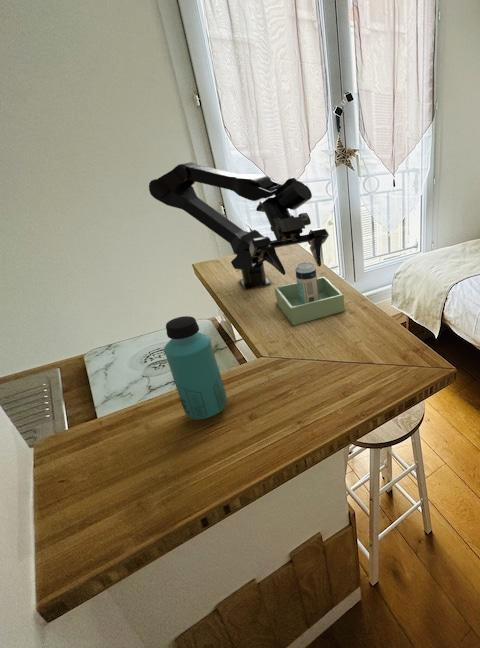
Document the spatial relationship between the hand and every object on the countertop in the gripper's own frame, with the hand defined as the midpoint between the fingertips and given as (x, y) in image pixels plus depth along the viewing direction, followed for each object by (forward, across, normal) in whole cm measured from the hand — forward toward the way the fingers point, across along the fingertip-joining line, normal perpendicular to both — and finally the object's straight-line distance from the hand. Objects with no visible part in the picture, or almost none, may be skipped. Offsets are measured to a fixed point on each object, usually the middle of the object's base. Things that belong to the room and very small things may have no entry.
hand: (302, 269), depth 104 cm
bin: (+9, 0, +6) cm, 11 cm away
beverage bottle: (+27, -30, -12) cm, 42 cm away
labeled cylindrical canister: (+8, 0, +6) cm, 10 cm away
